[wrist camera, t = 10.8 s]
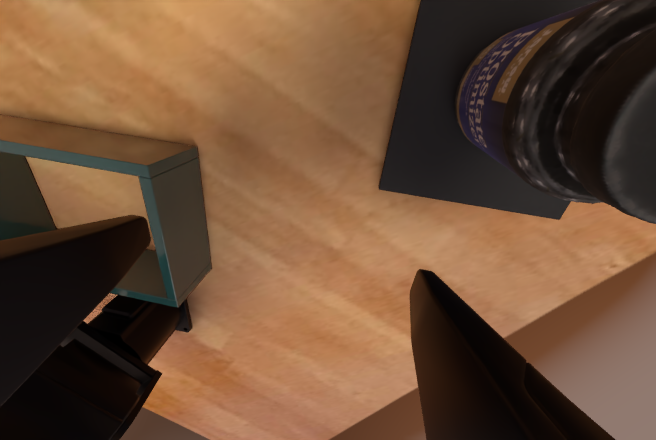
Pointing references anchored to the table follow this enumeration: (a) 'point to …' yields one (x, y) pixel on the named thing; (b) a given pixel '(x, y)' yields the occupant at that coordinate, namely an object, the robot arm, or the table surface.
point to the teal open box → (123, 157)
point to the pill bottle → (572, 104)
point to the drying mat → (439, 108)
